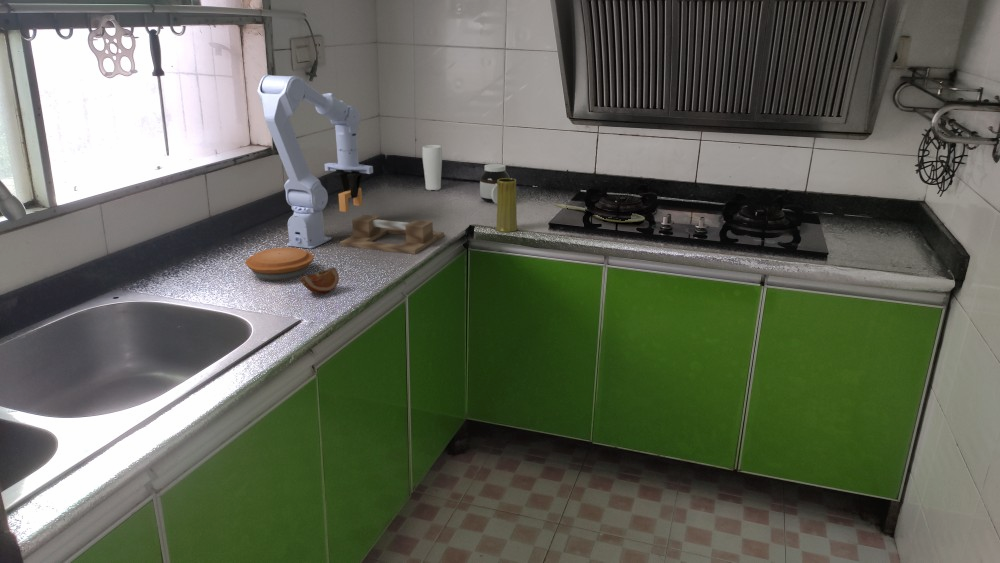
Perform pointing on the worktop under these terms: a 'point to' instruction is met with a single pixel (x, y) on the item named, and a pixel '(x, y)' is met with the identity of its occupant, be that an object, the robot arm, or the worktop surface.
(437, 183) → the drinking glass
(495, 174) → the spread jar
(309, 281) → the fruit slice
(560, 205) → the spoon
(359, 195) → the tan wooden angled block
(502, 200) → the vase
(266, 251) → the pie
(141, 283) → the worktop surface
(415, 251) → the hook stand
